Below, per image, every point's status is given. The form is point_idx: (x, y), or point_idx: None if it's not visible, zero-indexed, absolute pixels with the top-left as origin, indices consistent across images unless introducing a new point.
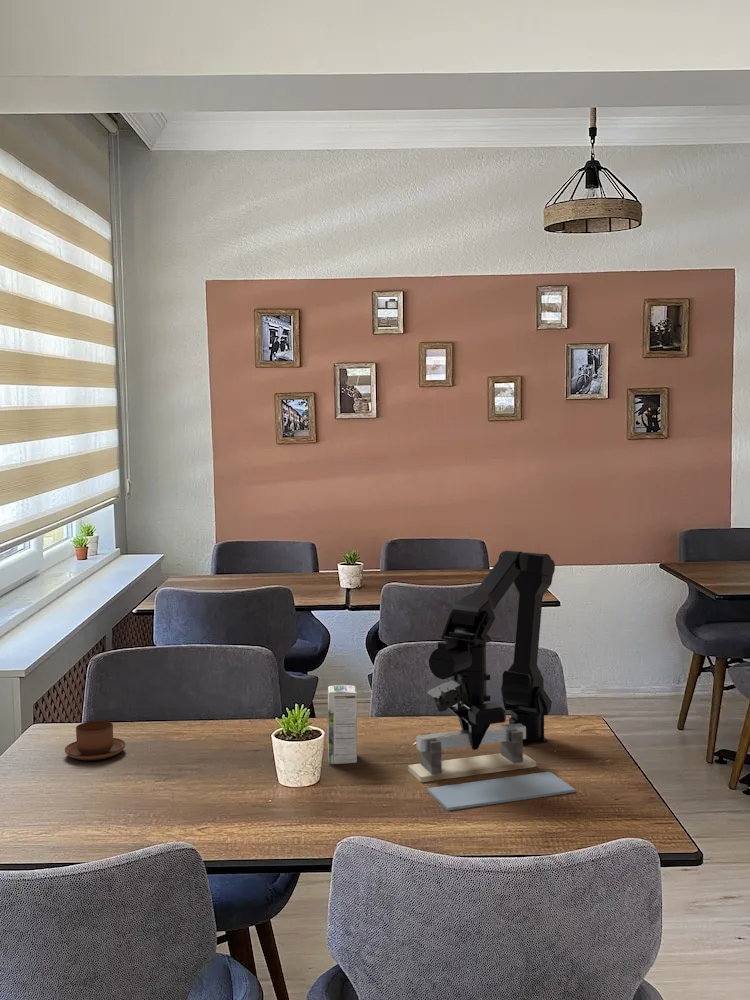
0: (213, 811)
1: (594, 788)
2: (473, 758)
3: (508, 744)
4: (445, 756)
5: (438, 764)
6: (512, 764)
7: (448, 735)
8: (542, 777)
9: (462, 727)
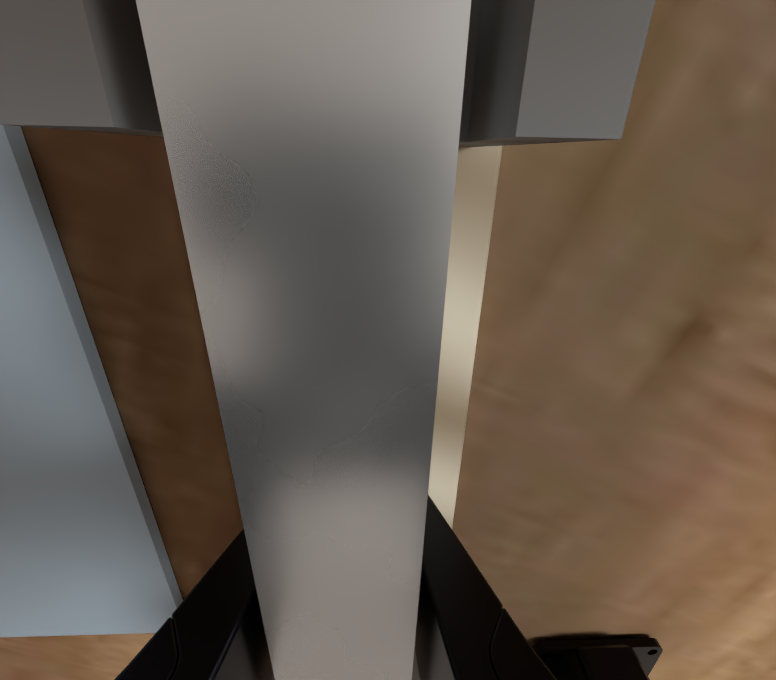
0: None
1: (14, 672)
2: (434, 447)
3: None
4: (619, 337)
5: None
6: None
7: (249, 373)
8: (112, 596)
9: (462, 624)
